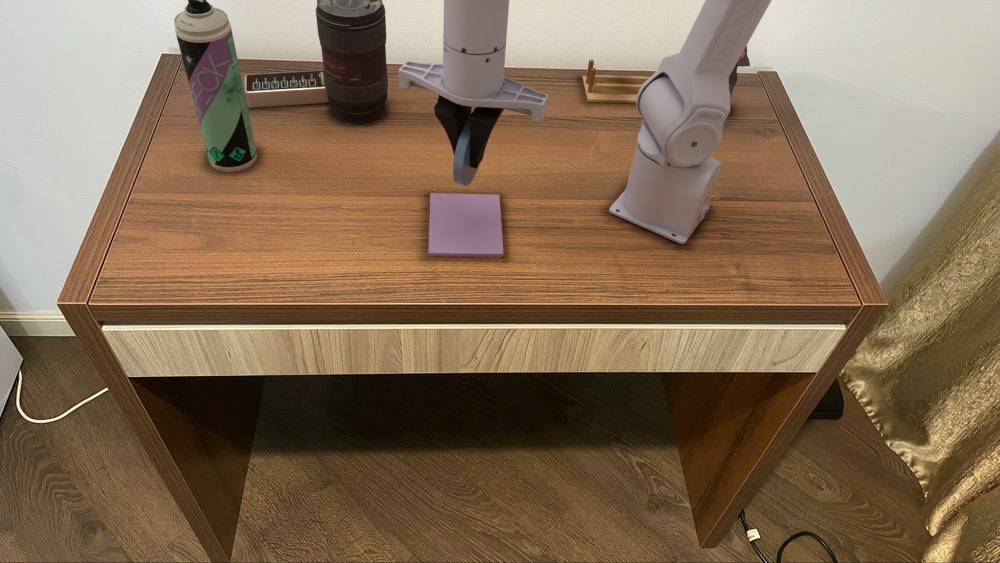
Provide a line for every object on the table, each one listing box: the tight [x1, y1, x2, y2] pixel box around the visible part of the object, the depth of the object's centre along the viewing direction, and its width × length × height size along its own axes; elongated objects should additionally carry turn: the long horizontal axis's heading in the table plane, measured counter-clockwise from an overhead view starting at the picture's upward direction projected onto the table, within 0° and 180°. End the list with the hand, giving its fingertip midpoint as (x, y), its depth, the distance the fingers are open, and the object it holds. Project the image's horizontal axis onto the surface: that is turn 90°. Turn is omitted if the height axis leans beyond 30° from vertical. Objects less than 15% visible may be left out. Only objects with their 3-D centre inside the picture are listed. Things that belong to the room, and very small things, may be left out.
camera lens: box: [315, 0, 389, 124], centre depth 93 cm, size 8×8×15 cm
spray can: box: [173, 0, 258, 173], centre depth 83 cm, size 6×6×20 cm
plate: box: [452, 121, 480, 187], centre depth 77 cm, size 7×1×7 cm, turn 161°
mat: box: [428, 192, 505, 258], centre depth 84 cm, size 10×8×1 cm
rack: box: [581, 59, 651, 105], centre depth 104 cm, size 11×6×4 cm, turn 93°
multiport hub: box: [244, 69, 330, 109], centre depth 99 cm, size 4×11×2 cm, turn 103°
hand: (469, 160), depth 78 cm, fingers closed on plate, 1 cm apart
